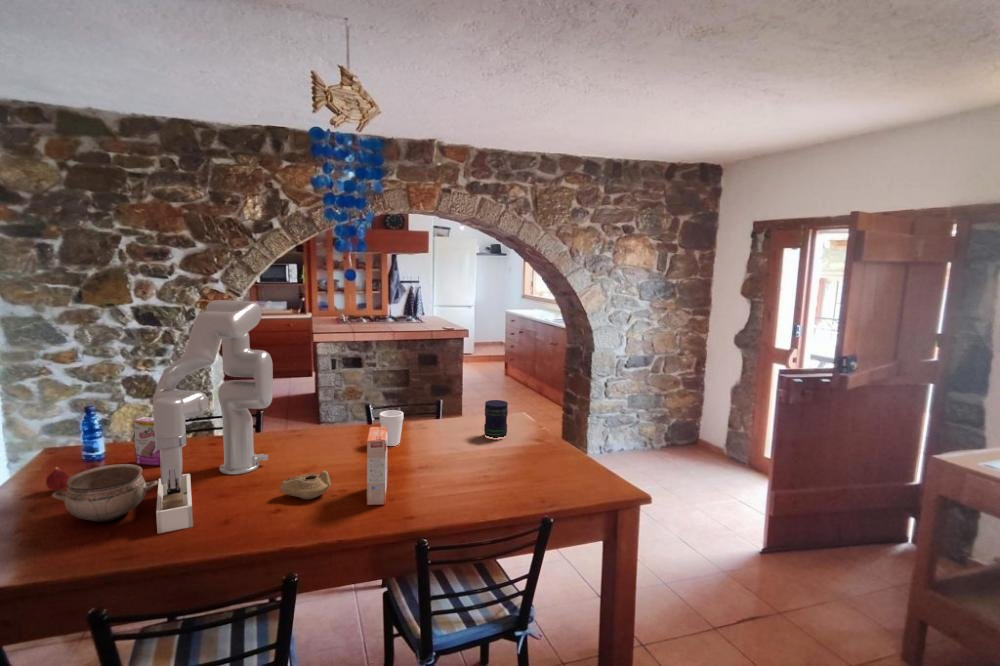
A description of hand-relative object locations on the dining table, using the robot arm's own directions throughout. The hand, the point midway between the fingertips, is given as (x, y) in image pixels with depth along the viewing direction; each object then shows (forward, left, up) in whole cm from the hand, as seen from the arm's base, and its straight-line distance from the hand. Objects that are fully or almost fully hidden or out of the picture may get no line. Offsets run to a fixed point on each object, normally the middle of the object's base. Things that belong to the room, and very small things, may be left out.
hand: (174, 502), depth 156 cm
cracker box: (-56, +13, -5) cm, 57 cm away
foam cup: (-76, -31, -5) cm, 82 cm away
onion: (+31, -35, -5) cm, 48 cm away
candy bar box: (+6, -49, -5) cm, 50 cm away
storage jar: (-119, -21, -5) cm, 121 cm away
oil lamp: (-36, +3, -5) cm, 36 cm away
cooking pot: (+16, -9, -5) cm, 19 cm away
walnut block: (0, +5, -1) cm, 5 cm away
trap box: (0, -3, -4) cm, 6 cm away
